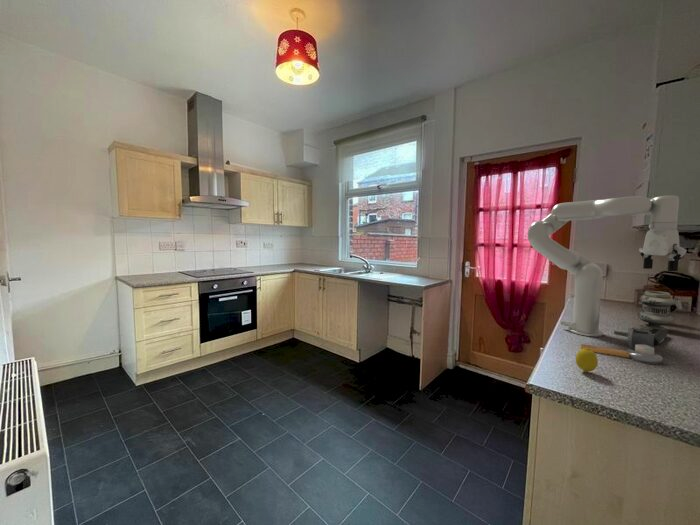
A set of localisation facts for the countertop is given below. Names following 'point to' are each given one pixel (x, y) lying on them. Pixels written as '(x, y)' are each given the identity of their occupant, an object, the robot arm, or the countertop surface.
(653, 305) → the apothecary jar
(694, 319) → the countertop surface
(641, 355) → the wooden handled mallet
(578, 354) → the lemon
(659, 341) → the door handle
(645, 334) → the socket
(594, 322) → the robot arm
